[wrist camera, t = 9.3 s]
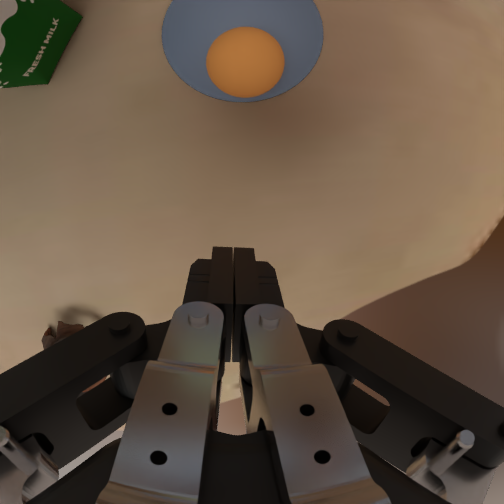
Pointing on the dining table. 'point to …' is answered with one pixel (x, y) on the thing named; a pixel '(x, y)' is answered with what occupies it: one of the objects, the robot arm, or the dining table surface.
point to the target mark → (232, 16)
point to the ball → (245, 62)
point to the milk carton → (33, 39)
